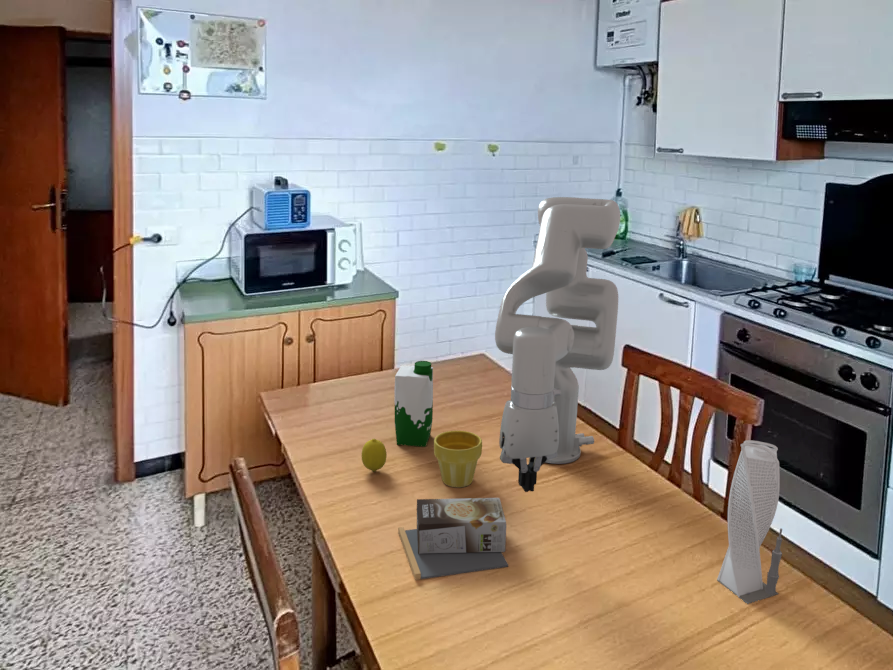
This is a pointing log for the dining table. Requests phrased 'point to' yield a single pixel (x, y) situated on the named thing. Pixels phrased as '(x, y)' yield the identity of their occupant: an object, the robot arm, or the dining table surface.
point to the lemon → (374, 455)
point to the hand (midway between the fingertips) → (526, 488)
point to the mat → (446, 559)
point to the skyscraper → (752, 523)
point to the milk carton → (414, 404)
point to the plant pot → (457, 456)
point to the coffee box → (460, 525)
